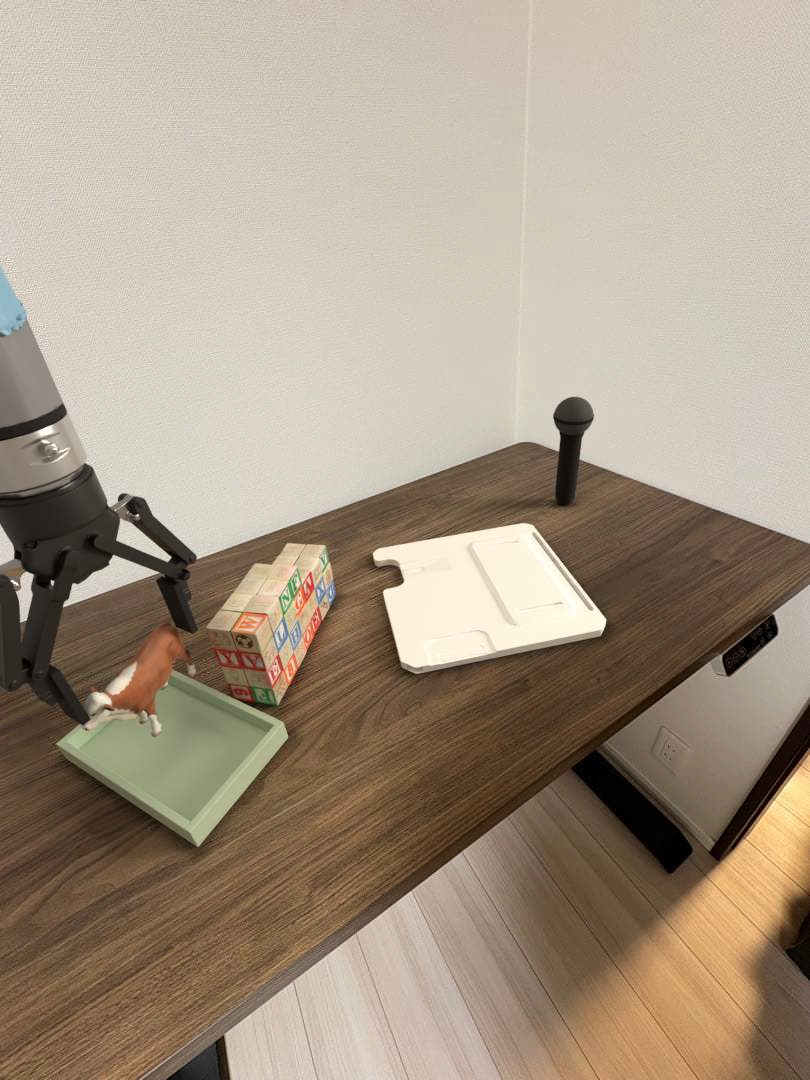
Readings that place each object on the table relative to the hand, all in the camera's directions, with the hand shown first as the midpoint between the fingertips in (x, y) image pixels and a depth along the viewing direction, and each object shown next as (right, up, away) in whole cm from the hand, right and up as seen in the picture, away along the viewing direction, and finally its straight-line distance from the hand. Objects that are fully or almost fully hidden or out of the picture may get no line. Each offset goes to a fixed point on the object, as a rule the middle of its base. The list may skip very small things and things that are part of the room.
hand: (137, 669), depth 53 cm
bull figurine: (+1, -5, +4) cm, 7 cm away
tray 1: (+1, -11, +7) cm, 13 cm away
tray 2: (+38, +5, +27) cm, 47 cm away
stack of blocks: (+11, -1, +20) cm, 23 cm away
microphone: (+57, +20, +46) cm, 75 cm away
